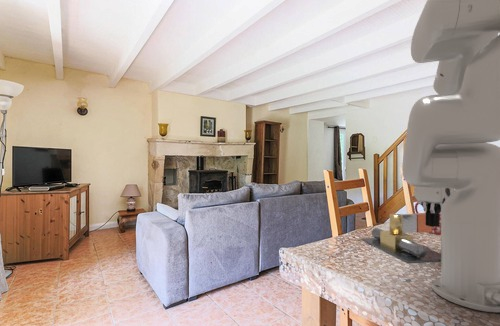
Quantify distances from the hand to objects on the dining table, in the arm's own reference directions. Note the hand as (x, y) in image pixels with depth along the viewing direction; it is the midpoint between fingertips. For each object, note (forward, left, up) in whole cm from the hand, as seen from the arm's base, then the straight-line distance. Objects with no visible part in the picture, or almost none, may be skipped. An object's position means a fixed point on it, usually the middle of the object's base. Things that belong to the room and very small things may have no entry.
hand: (432, 225), depth 78 cm
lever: (+6, +2, -3) cm, 8 cm away
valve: (+6, +5, -9) cm, 12 cm away
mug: (+23, -23, -9) cm, 34 cm away
